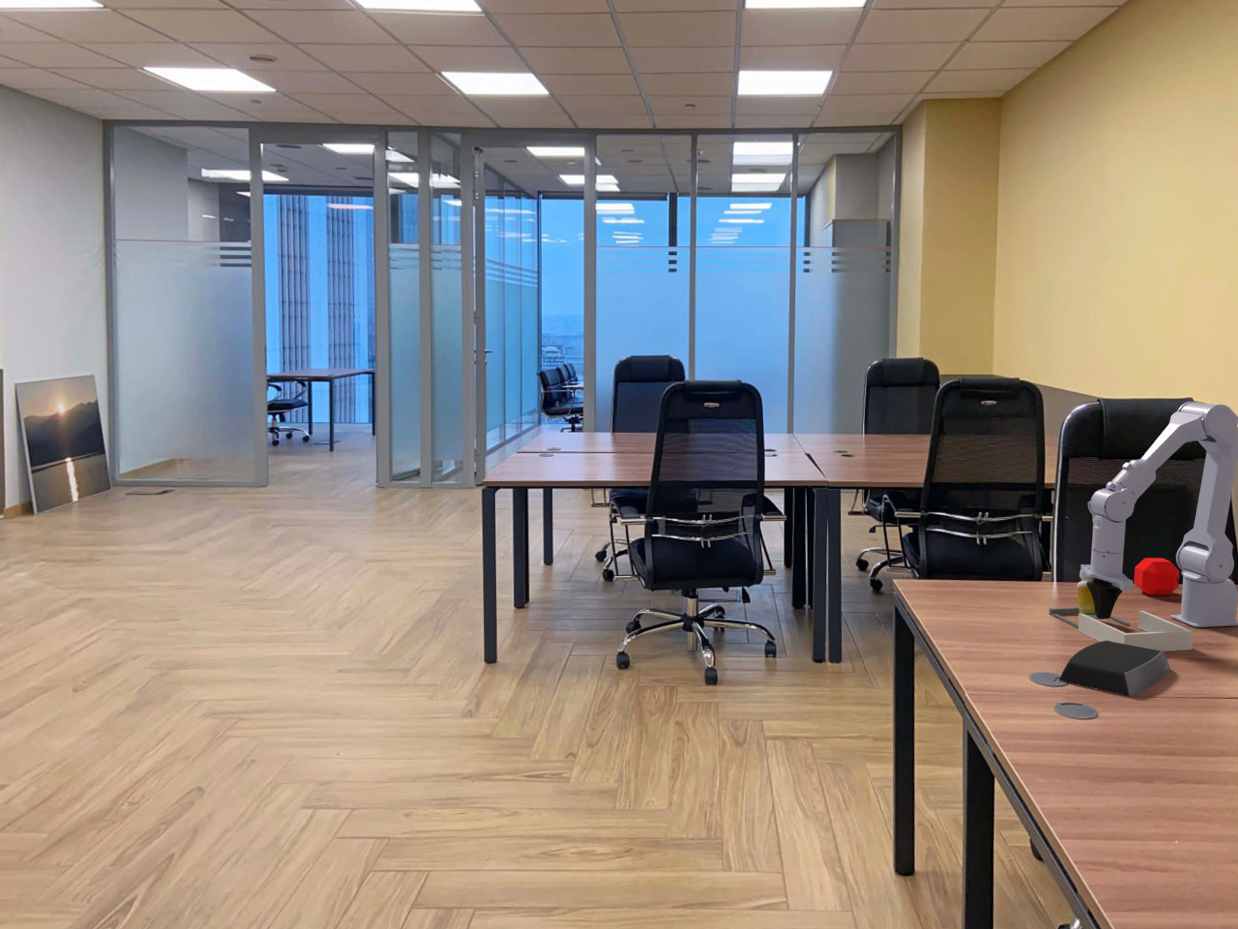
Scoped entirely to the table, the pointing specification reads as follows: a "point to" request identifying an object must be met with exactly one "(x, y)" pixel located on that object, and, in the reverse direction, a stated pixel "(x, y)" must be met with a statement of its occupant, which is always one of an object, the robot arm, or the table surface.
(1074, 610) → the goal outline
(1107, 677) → the external hard drive
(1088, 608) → the supplement bottle
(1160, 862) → the table surface
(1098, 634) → the bay
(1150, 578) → the ball
